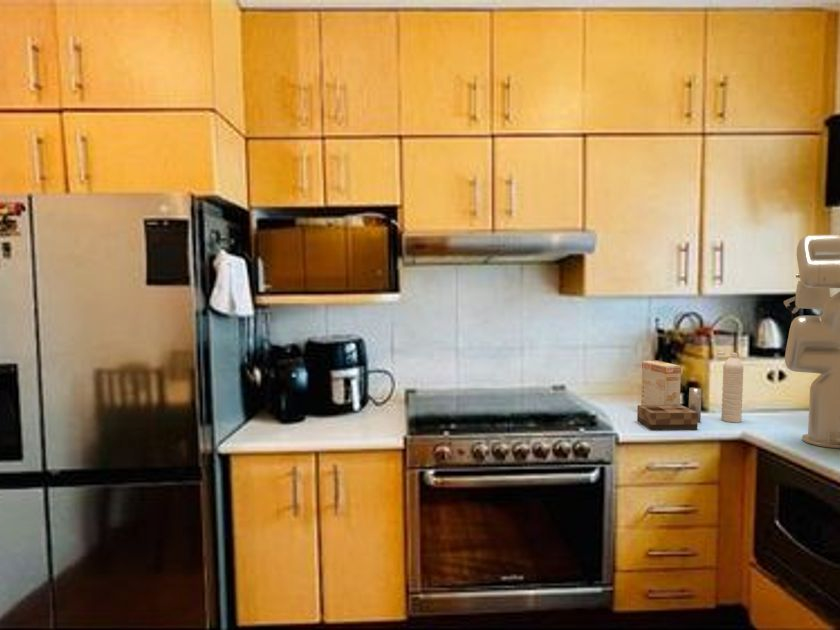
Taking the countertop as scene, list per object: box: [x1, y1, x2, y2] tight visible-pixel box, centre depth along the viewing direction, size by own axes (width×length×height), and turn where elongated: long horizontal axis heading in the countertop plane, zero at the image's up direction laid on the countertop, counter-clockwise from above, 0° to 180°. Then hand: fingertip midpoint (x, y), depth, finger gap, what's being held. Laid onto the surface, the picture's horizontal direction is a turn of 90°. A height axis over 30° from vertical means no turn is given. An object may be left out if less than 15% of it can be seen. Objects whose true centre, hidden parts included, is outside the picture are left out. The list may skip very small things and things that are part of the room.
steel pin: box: [688, 387, 703, 424], centre depth 209 cm, size 4×4×12 cm
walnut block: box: [636, 404, 699, 431], centre depth 203 cm, size 12×16×6 cm
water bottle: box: [716, 351, 744, 423], centre depth 210 cm, size 9×6×25 cm
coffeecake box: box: [640, 360, 682, 405], centre depth 222 cm, size 15×7×20 cm, turn 12°
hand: (811, 324), depth 207 cm, fingers open, 9 cm apart
